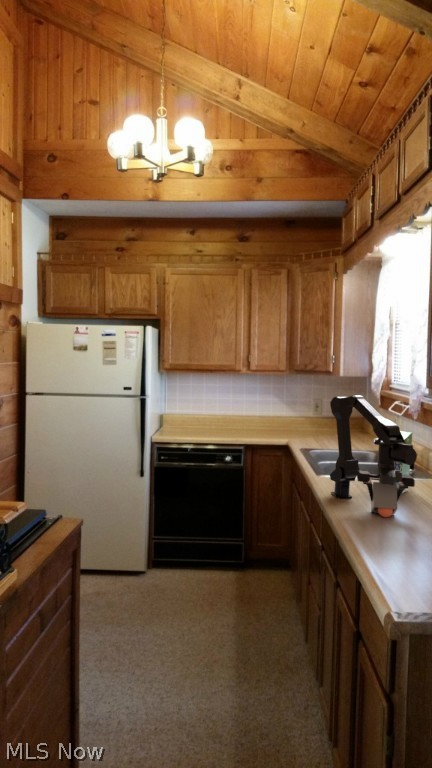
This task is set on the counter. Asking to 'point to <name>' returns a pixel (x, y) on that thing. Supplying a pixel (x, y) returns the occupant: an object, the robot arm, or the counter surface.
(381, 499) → the grey rectangular box
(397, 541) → the counter surface
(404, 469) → the milk carton
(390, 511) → the ball
